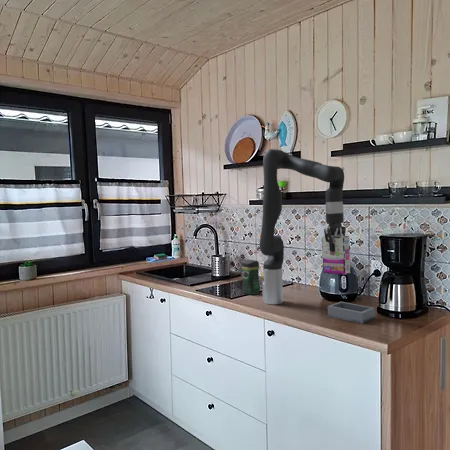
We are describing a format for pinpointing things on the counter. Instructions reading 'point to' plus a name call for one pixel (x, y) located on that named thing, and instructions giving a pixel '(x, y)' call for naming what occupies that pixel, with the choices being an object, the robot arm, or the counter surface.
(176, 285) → the counter surface
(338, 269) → the candy bar box
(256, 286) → the coffee jar
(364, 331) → the counter surface
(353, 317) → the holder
